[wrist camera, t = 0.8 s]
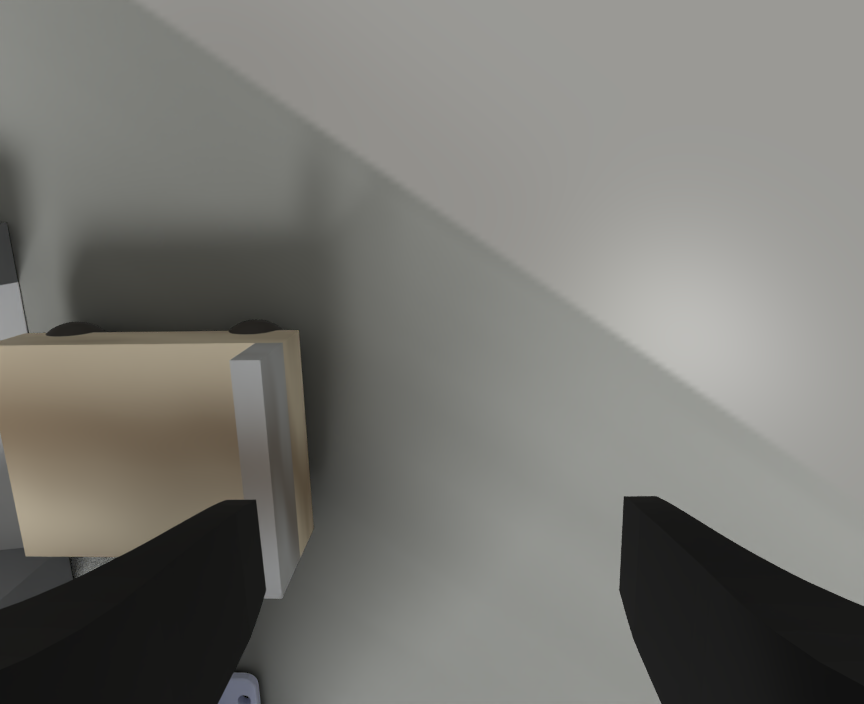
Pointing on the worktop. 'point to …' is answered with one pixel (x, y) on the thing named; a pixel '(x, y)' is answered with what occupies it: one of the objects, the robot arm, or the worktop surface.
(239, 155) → the worktop surface
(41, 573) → the loading dock
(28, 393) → the footed beige box
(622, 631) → the worktop surface
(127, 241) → the worktop surface
